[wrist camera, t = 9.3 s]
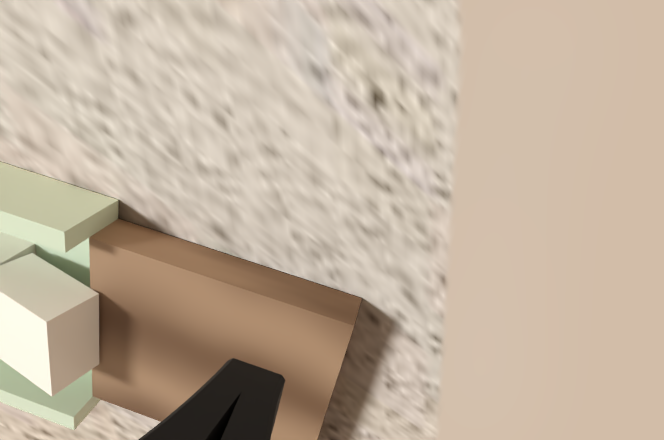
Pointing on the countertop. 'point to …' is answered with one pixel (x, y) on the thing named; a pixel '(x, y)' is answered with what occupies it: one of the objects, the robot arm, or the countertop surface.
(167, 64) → the countertop surface
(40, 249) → the tray
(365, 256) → the countertop surface
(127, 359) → the board
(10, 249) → the tile
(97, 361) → the tile
